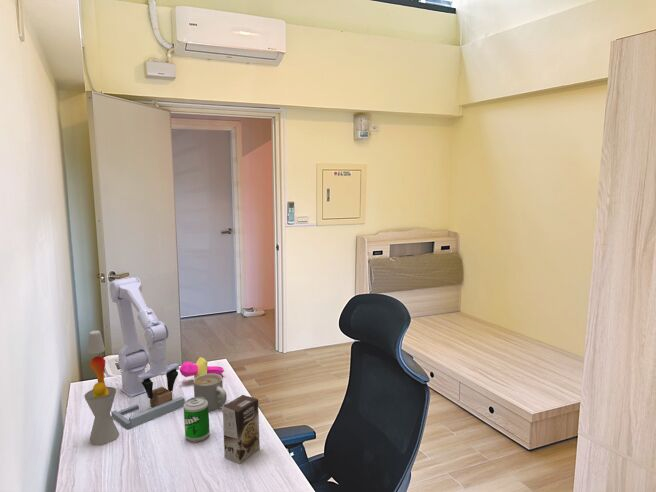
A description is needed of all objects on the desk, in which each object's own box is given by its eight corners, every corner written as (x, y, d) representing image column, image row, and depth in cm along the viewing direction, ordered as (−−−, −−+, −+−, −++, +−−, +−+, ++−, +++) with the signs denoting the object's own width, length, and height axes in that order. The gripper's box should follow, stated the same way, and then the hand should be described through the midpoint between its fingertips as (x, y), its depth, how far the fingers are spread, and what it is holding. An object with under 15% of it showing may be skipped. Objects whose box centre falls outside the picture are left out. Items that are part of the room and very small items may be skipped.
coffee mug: (190, 405, 171) (188, 379, 169) (214, 396, 178) (212, 371, 176) (209, 418, 162) (207, 391, 160) (234, 408, 168) (232, 382, 167)
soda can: (202, 427, 156) (200, 393, 154) (214, 436, 151) (212, 401, 149) (180, 436, 151) (178, 401, 149) (192, 446, 146) (190, 409, 144)
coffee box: (240, 464, 136) (237, 411, 134) (223, 457, 140) (221, 406, 137) (260, 448, 144) (259, 398, 141) (244, 442, 147) (242, 393, 145)
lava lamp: (90, 433, 154) (80, 329, 148) (120, 427, 157) (111, 325, 151) (87, 447, 145) (76, 338, 140) (119, 441, 148) (109, 334, 143)
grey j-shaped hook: (111, 417, 163) (111, 409, 163) (167, 395, 179) (167, 388, 178) (127, 429, 155) (126, 420, 155) (184, 406, 171) (184, 398, 170)
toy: (226, 383, 191) (227, 356, 194) (182, 381, 181) (185, 354, 184) (215, 384, 198) (217, 359, 202) (173, 383, 188) (175, 356, 192)
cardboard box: (150, 406, 171) (149, 388, 170) (163, 401, 174) (162, 383, 173) (160, 413, 166) (158, 394, 165) (173, 408, 170) (171, 389, 168)
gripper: (143, 367, 159) (146, 405, 161) (182, 355, 170) (184, 390, 172) (134, 361, 164) (136, 398, 166) (172, 350, 175) (174, 384, 177)
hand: (160, 394), depth 169 cm, fingers open, 7 cm apart
